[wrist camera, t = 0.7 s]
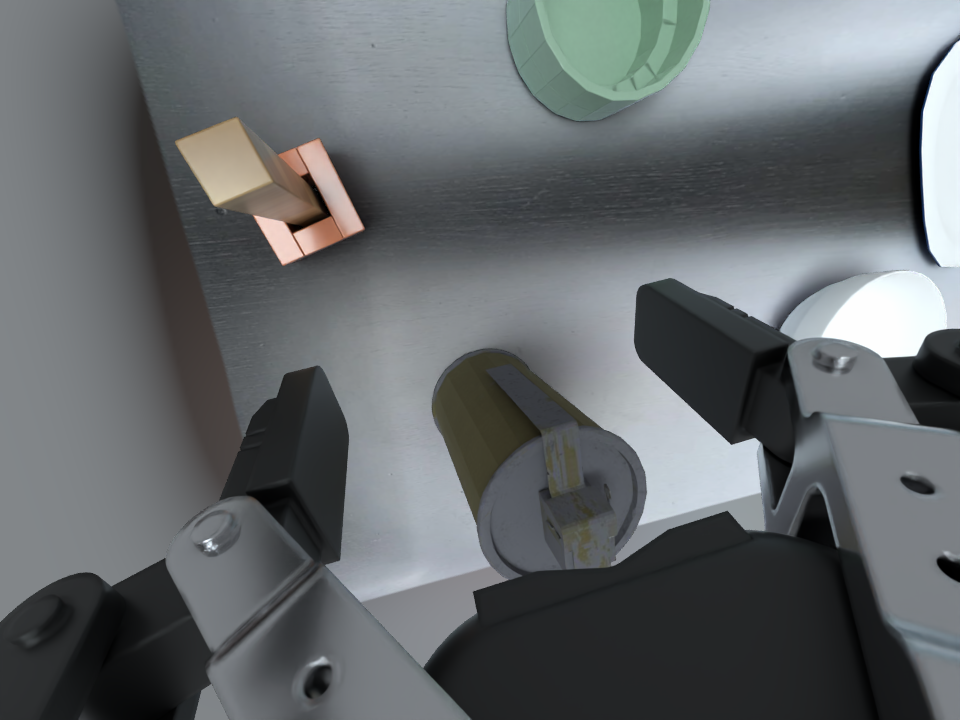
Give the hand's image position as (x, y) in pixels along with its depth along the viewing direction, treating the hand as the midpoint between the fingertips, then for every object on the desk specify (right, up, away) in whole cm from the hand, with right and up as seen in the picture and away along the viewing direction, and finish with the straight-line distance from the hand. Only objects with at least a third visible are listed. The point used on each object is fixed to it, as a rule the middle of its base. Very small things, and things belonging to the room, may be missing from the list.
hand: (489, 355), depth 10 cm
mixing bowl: (+8, +26, +22) cm, 35 cm away
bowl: (+38, +2, +38) cm, 54 cm away
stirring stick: (-13, +11, +21) cm, 27 cm away
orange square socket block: (-13, +11, +21) cm, 27 cm away
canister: (0, -4, +29) cm, 29 cm away
